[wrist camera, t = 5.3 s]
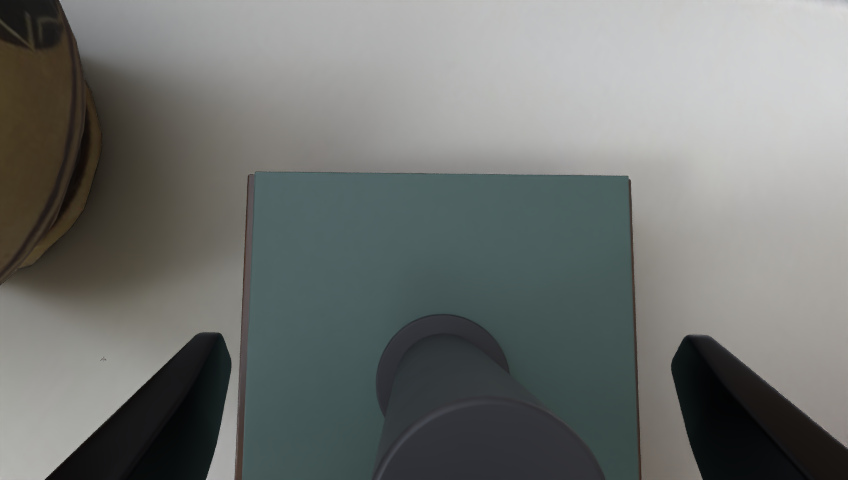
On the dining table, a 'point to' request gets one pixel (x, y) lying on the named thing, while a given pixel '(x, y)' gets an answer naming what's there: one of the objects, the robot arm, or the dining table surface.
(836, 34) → the dining table surface
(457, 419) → the peg plate
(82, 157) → the ceramic jug
